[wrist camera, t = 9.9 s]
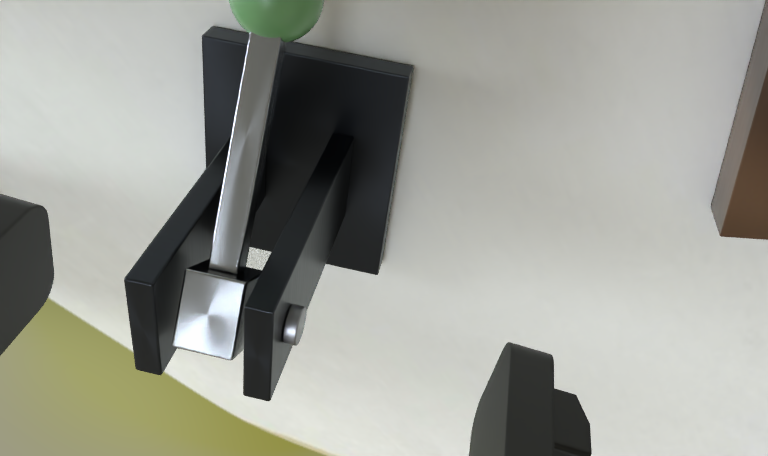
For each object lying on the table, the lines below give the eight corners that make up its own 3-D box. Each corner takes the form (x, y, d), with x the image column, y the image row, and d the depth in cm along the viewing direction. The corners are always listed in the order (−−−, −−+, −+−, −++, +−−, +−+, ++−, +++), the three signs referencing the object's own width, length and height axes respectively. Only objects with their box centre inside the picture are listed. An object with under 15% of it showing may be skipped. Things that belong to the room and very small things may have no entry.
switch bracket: (212, 25, 31) (46, 179, 21) (414, 65, 30) (345, 245, 20) (216, 224, 38) (92, 415, 27) (382, 261, 37) (318, 470, 27)
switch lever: (252, -50, 25) (224, -79, 22) (339, -33, 25) (323, -61, 22) (186, 324, 27) (151, 347, 24) (267, 343, 27) (242, 368, 24)
